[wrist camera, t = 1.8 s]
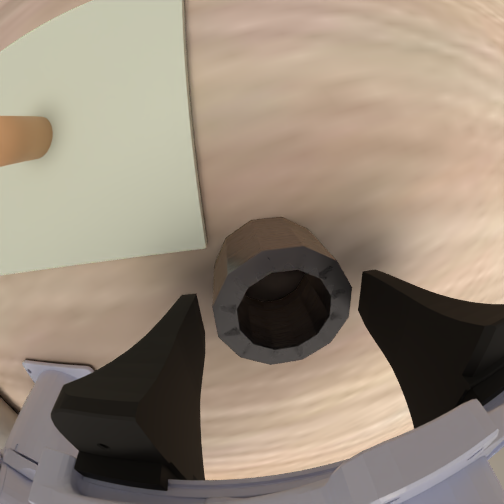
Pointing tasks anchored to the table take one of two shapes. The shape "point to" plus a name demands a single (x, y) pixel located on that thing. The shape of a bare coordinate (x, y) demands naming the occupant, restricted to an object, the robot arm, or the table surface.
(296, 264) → the collar
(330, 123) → the table surface
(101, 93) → the pegged green plate
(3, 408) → the bent grey cylinder
